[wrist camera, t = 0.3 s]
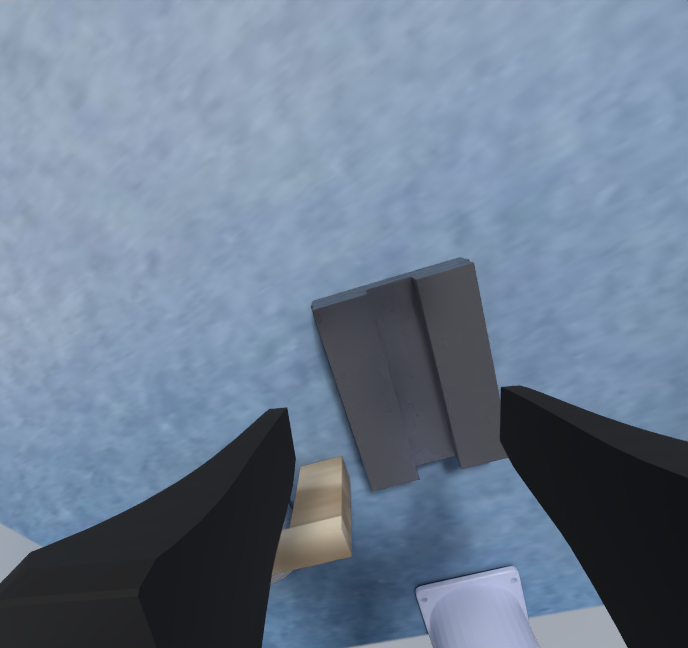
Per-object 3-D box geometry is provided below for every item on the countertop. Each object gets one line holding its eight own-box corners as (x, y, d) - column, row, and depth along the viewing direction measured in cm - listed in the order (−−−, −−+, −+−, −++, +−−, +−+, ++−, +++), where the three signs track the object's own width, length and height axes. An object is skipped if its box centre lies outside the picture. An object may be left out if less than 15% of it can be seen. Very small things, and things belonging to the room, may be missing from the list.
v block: (494, 430, 22) (514, 456, 20) (366, 462, 23) (369, 492, 21) (459, 257, 19) (477, 261, 17) (312, 300, 20) (308, 311, 17)
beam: (349, 479, 24) (352, 556, 18) (193, 518, 24) (149, 603, 19) (341, 456, 23) (341, 528, 17) (182, 497, 24) (133, 578, 18)
